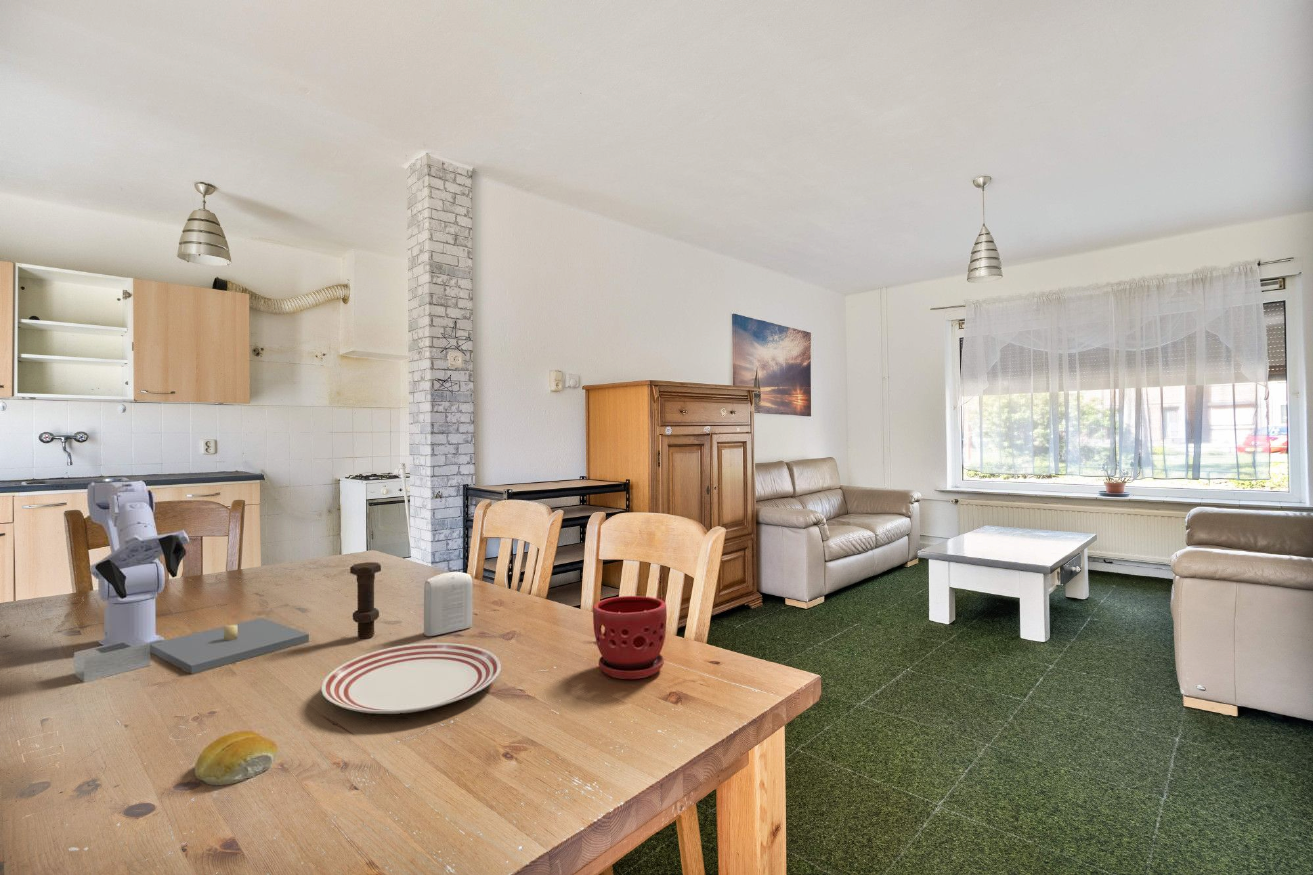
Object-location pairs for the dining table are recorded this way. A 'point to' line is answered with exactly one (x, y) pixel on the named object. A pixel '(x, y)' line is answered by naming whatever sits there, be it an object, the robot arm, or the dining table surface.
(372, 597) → the bolt
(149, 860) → the dining table surface
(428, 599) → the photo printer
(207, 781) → the bread roll
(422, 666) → the dinner plate
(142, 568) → the robot arm
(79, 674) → the block with square hole
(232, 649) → the pin board
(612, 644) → the plant pot
